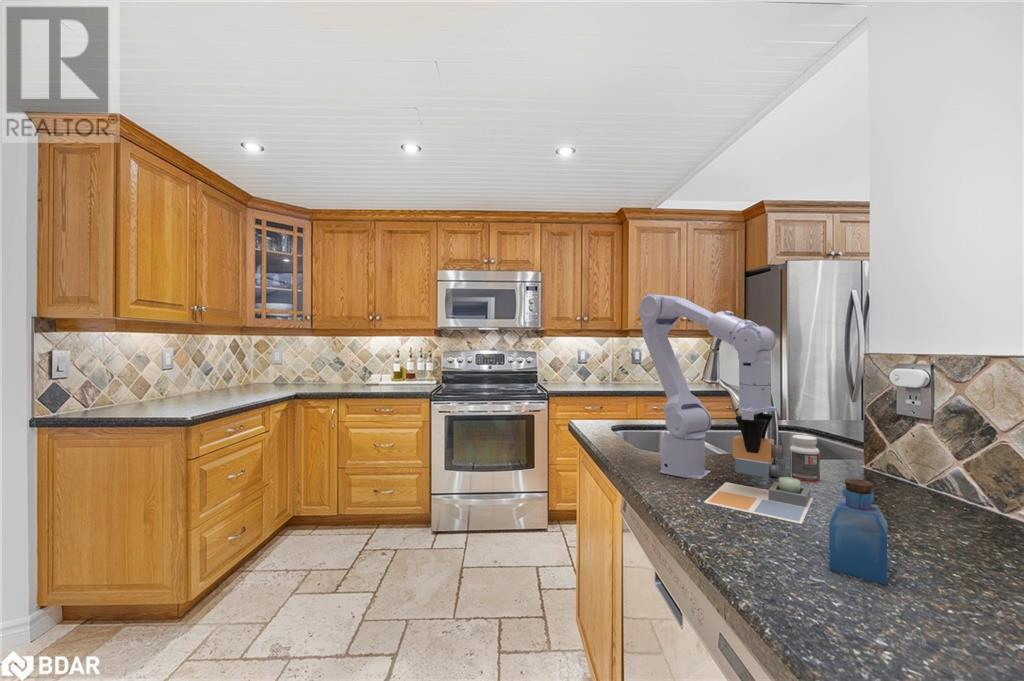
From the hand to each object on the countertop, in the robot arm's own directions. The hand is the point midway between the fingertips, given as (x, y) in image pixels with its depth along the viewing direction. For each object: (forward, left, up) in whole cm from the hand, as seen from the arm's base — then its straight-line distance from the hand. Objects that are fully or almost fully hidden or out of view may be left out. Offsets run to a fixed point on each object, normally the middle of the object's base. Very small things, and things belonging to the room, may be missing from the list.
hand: (754, 450), depth 94 cm
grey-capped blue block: (-3, +14, -9) cm, 17 cm away
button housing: (+6, -1, -8) cm, 11 cm away
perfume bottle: (+18, -25, -9) cm, 32 cm away
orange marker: (0, 0, -2) cm, 2 cm away
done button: (+6, -1, -6) cm, 9 cm away
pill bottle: (+7, +16, -9) cm, 20 cm away
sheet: (+2, -6, -9) cm, 11 cm away
